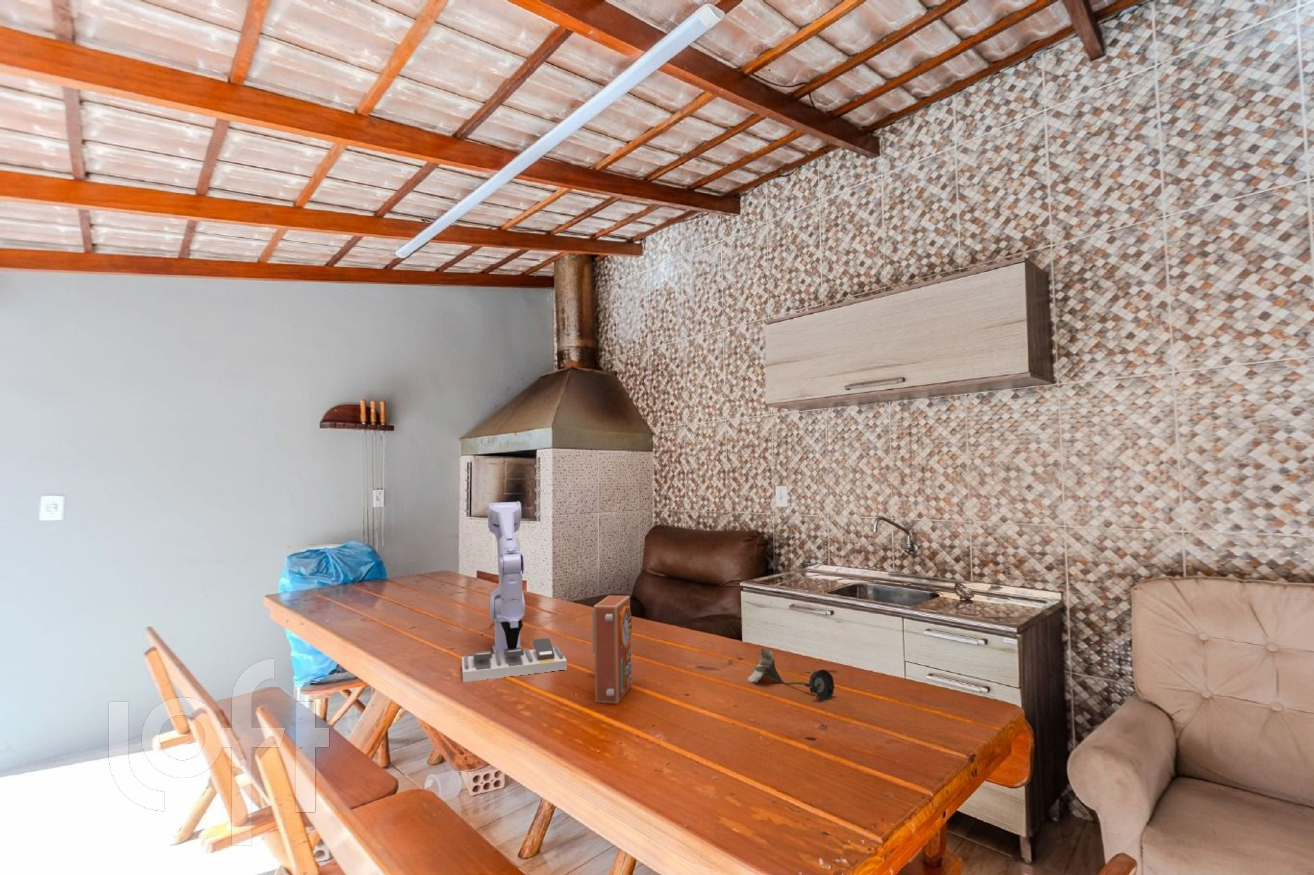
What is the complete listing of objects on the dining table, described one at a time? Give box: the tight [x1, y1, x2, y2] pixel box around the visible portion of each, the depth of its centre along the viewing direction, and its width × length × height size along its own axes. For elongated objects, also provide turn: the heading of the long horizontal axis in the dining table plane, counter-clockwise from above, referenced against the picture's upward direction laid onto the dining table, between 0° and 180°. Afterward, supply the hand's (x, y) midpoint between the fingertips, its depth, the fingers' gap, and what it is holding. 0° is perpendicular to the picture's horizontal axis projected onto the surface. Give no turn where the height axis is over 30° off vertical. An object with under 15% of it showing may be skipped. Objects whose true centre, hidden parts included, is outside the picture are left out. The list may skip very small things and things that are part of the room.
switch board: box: [461, 645, 568, 683], centre depth 169 cm, size 14×26×4 cm, turn 108°
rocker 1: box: [472, 650, 493, 660], centre depth 167 cm, size 9×4×1 cm, turn 18°
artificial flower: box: [747, 648, 836, 702], centre depth 150 cm, size 9×22×10 cm, turn 34°
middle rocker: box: [504, 647, 525, 657], centre depth 170 cm, size 9×4×1 cm, turn 18°
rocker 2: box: [532, 637, 555, 660], centre depth 172 cm, size 9×4×1 cm, turn 18°
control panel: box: [591, 594, 633, 705], centre depth 149 cm, size 21×7×15 cm
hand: (512, 648), depth 174 cm, fingers closed, pressing on middle rocker
